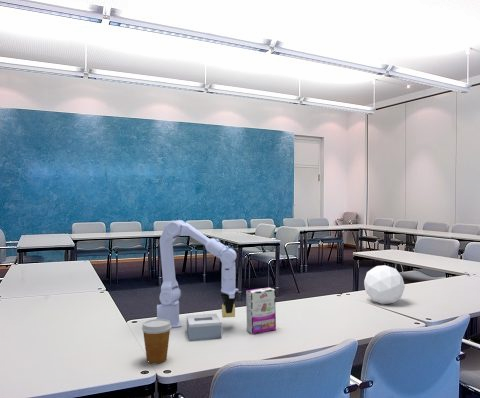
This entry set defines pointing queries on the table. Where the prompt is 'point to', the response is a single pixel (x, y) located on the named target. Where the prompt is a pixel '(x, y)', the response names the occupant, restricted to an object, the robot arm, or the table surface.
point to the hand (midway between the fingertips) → (228, 312)
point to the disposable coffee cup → (156, 339)
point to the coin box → (203, 327)
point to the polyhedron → (384, 284)
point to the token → (227, 313)
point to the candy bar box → (260, 310)
